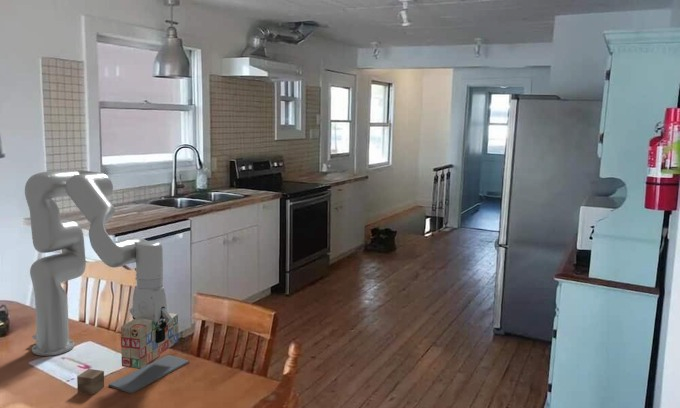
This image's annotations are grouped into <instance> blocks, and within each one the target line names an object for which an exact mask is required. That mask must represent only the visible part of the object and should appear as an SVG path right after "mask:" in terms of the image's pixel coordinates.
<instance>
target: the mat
mask: <svg viewBox="0 0 680 408" xmlns="http://www.w3.org/2000/svg"><path fill="white" fill-rule="evenodd" d="M189 363H190V360H188V359H185V358H183V357H182V358H181V357H178V356H174V355H172V354H171V355H170V354H167V355H165V356H162V357H161V358H159V359H157V360H153V361H151V362H150V363H148V364H147V365H145V366H144V367H143V368H141V369H136V370H134V371H132V372H131V373H129V374H126V375H124V376H122V377H120V378H118V379H116V380H115V381H112V382H110V383H108V387H110V388H114V389H116V390H119V391H123V392H124V393H128V394H134V393H135V392H137V391H139V390H141V389H143V388H145V387H146V386H148V385H150V384H152V383H153V382H156V381H157V380H159V379H161V378H163V377H164V376H167V375H168V374H170V373H173V372H174V371H176V370H178V369H180V368H182V367H183V366H185V365H187V364H189Z"/></svg>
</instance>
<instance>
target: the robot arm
mask: <svg viewBox="0 0 680 408" xmlns="http://www.w3.org/2000/svg"><path fill="white" fill-rule="evenodd" d="M113 190H114V185H113V182H112V179H111V177H109V176H108V175H107V174H105V173H103V172H100V171H92V170H83V169H67V170H64V169H62V170H50V171H49V170H48V171H42V172H38V173H35V174H33V175H31V176H30V177H29V178H28V179H27V180H26V183H25V186H24V195H25V200H26V203H27V206H28V210H29V218H30V227H31V230H30V231H31V238H32V244H33V247H34V249H35V250H36V251H37V252H39V253H41V254H46V253H54V252H57V251H61V253H57V254H52V255H51V254H50V255H47V256H44V257H41V258H39V259H37V260H35V261H34V262H33V263H32V264H31V266H30V269H29V276H30V280H31V284H32V287H33V292H34V306H35V307H34V308H35V328H36V329H35V331H36V333H35V334H32V336H31V338H32V339H33V340H35V344H33V346H32V347H31V352H32V354H34V355H37V356H43V357H46V356H47V357H48V356H50V357H51V356H56V355H61V354H65V353H66V352H69V351H71V350H72V349H73V348H74V347H75V341H74V340H73V339H72V338H70V332H69V327H70V326H69V325H70V324H69V306H68V305H69V304H68V295H67V292H66V290H65V289H64V287H63V286H62V283H65V282H68V281H72V280H74V279H75V280H76V279H77V278H79V277H81V276H82V275H83V274H84V273H85V270H86V267H87V265H86V264H87V263H86V248H85V237H84V233H83V229H82V227H81V226H80V225H79V223H78V222H76V221H74V220H72V219H64V220H61V213H60V208H59V205H58V204H57V203H56V201H55V200H53V199H56V198H64V197H69V198H70V199H71V200H72V202H73V203H74V205H76V207H77V208H78V210H79V211H80V212H81V214H82V215H83V217H84V218H85V219H86V220H87V222H88V223H89V227H88V238H89V243H90V246H91V248H92V249H93V252H95V254H96V255H97V256H98V258H99V259H100V260H101V262H103V264H104V265H106V266H108V267H110V268H112V269H113V268H120V267H123V266H127V265H131V264H135V273H136V274H135V276H136V277H135V281H136V282H135V283H136V286H134V288H133V295H132V307H131V308H130V309H129V313H130V315H131V316H132V317H131V318H132V320H134V319H135V318H137V317H140V318H144V319H148V320H152V321H153V323H156V327H157V330H156V343H160V342H162V341H164V340H165V328H167V326H168V325H169V323H170V322H171V320H172V317H171V316H170V315H169V314H168V307H167V306H168V305H167V304H168V302H167V296H166V289H165V287H164V274H163V273H164V272H163V271H164V264H163V263H164V262H163V259H164V258H163V255H164V254H163V245H162V243H161V242H159V241H156V240H146V239H145V238H142V237H139V236H138V237H136V236H135V237H129V238H125V239H120V240H117V241H114V240H113V239H112V238H111V236H110V235H109V233H108V232H107V229H106V226H105V224H107V223H108V222H109V221H110V220H111V219H112V218H113V217H114V215H115V214H116V209H115V208H116V207H115V206H114V205H113V204H112V202H111V201H110V200H109V199H108V197H110V196H111V194H112V192H113ZM164 319H165V320H164ZM159 321H161V325H160V323H159Z"/></svg>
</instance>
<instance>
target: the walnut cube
mask: <svg viewBox="0 0 680 408" xmlns="http://www.w3.org/2000/svg"><path fill="white" fill-rule="evenodd" d="M76 384H77V393H78V394H83V395H84V394H85V395H91V396H94V395H95V394H97V393H98V392H99V391H101V390H102V389H104V387H105V370H101V369H100V370H99V369H92V368H87V369H86V370H84V371H83V372H82V373H80V374H79V375H77V377H76Z"/></svg>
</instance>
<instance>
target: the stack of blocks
mask: <svg viewBox="0 0 680 408" xmlns="http://www.w3.org/2000/svg"><path fill="white" fill-rule="evenodd" d="M168 314H169V315H170V316H171V317H172V320H171V322H170V323H169V325H168V326H167V328H165V340H164V341H162V342H160V343H156V330H157V327H156V323H153V321H152V320H148V319H144V318H140V317H137V318H135V319H132V320H130V321H128V322H127V323H125V324H122V325H121V326H120V346H121V349H120V351H121V367H124V368H128V369H129V368H131V369H136V370H138V369H141V368H143V367H144V366H146V365H148V364H150V363H152V362H153V361H155V359H156V358H159V357H160V356H161V355H162V354H163V353H164V352H165V351H166V350H168V349H169V348H171V347H172V346H174V345H175V344H177V343H178V342H179V320H178V319H179V314H178V313H171V312H169V313H168ZM164 320H165V319H164ZM159 323H160V325H161V321H159ZM159 355H160V356H159ZM158 356H159V357H158Z"/></svg>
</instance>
